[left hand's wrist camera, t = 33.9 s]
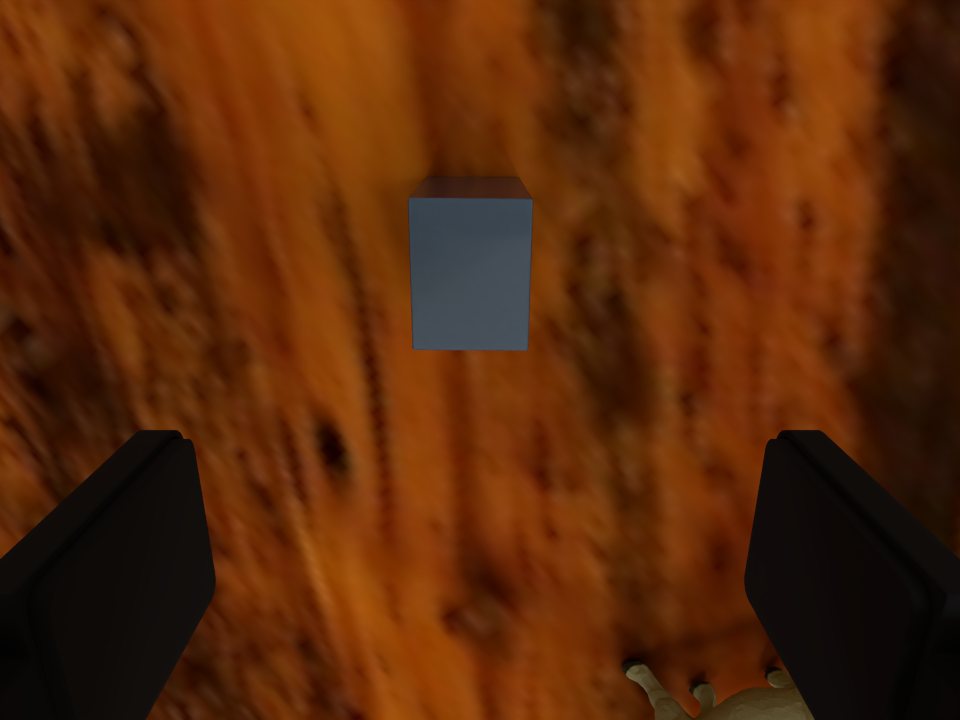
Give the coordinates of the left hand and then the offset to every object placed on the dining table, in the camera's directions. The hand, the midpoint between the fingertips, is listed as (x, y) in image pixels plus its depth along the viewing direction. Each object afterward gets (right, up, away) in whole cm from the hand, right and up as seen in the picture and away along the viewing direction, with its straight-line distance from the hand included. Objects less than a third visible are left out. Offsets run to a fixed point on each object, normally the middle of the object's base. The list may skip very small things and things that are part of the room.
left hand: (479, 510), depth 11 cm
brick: (0, +9, +25) cm, 27 cm away
